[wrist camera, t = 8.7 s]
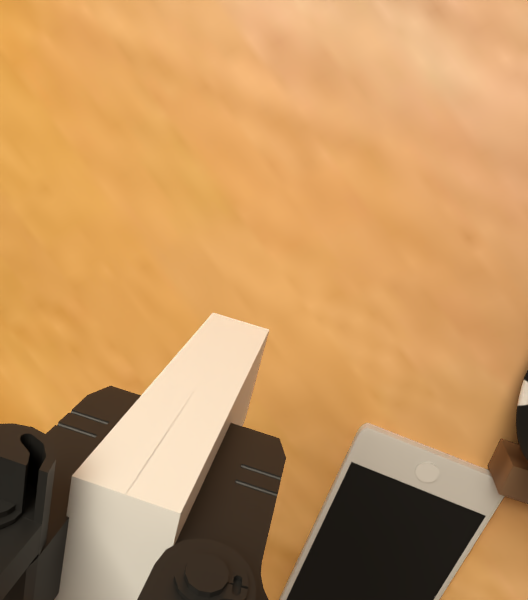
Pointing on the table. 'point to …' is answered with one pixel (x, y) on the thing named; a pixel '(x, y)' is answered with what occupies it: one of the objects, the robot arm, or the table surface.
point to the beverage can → (523, 417)
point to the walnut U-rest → (510, 471)
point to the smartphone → (393, 523)
